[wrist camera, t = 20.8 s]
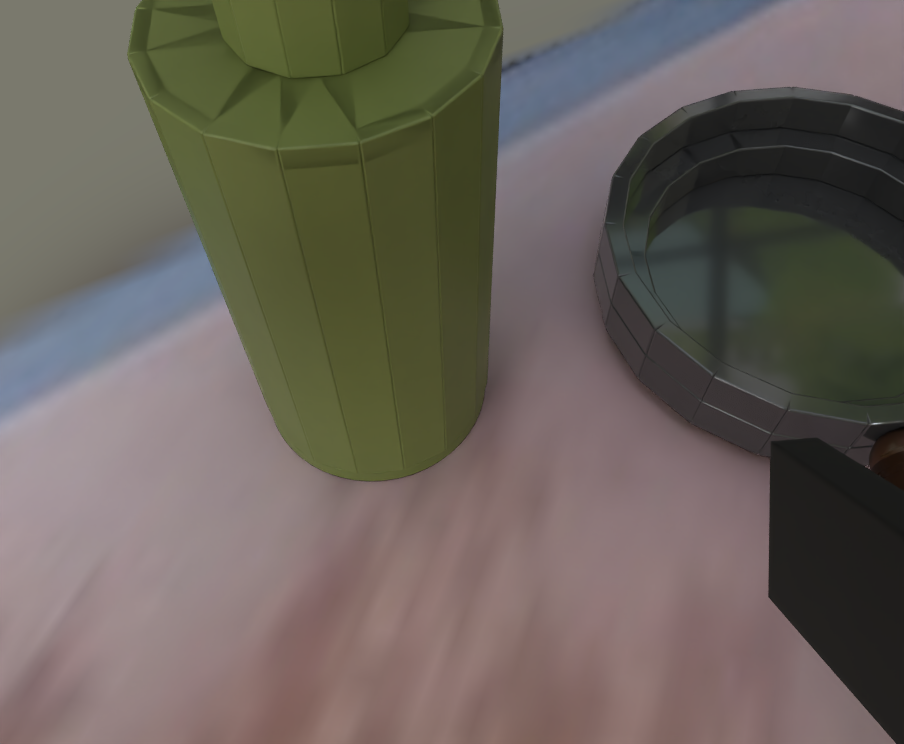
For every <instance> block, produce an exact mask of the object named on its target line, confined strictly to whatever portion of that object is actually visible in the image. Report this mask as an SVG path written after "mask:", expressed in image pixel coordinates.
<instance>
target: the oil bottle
mask: <svg viewBox="0 0 904 744" xmlns="http://www.w3.org/2000/svg"><path fill="white" fill-rule="evenodd" d="M502 46H503V25H502V19H501V15H500V10H499V5H498V0H142V1H141V2H140V3H139V5H138V6H137V7H136V10H135V13H134V19H133V25H132V30H131V35H130V41H129V47H128V53H127V55H128V60H129V62H130V65H131V67H132V70H133V72H134V75H135V77H136V80H137V82H138V85H139V87H140V90H141V92H142V95H143V97H144V100H145V102H146V105H147V107H148V110H149V112H150V115H151V117H152V120H153V122H154V125H155V127H156V130H157V132H158V134H159V137H160V140H161V142H162V144H163V147H164V150H165V152H166V154H167V157H168V160H169V162H170V165H171V167H172V170H173V172H174V175H175V177H176V180H177V182H178V185H179V187H180V190H181V192H182V194H183V197H184V200H185V202H186V204H187V207H188V209H189V212H190V214H191V217H192V219H193V222H194V224H195V227H196V229H197V232H198V234H199V237H200V239H201V242H202V244H203V247H204V249H205V252H206V254H207V257H208V259H209V262H210V264H211V267H212V269H213V272H214V274H215V277H216V279H217V282H218V284H219V287H220V289H221V292H222V294H223V297H224V299H225V302H226V304H227V307H228V309H229V312H230V314H231V317H232V319H233V322H234V324H235V327H236V329H237V332H238V334H239V336H240V339H241V341H242V344H243V346H244V349H245V351H246V354H247V356H248V359H249V361H250V364H251V366H252V369H253V371H254V374H255V376H256V379H257V381H258V384H259V386H260V389H261V391H262V394H263V396H264V399H265V401H266V403H267V406H268V408H269V410H270V412H271V414H272V416H273V418H274V421H275V423H276V426H277V428H278V430H279V432H280V433H281V435H282V437H283V439H284V440H285V441H286V442H287V444H288V445H289V446H290V447H291V449H293V450H294V451H295V452H296V453H297V454H298V455H299V456H300V457H301V458H302V459H304V460H305V461H307V462H308V463H310V464H311V465H313V466H315V467H317V468H318V469H320V470H322V471H324V472H327V473H330V474H333V475H335V476H338V477H343V478H347V479H352V480H361V481H384V480H391V479H397V478H401V477H405V476H408V475H412V474H415V473H417V472H419V471H422V470H424V469H427V468H428V467H430V466H432V465H434V464H435V463H437V462H439V461H440V460H442V459H443V458H444V457H446V456H447V455H449V454H450V453H451V452H452V451H453V450H454V449H455V448H456V447H457V446H458V445H459V444H461V442H462V441H463V440H464V439H465V437H466V436H467V435H468V434H469V432H470V431H471V429H472V427H473V426H474V424H475V422H476V420H477V418H478V415H479V413H480V410H481V407H482V403H483V399H484V391H485V387H486V384H487V372H488V350H489V329H490V307H491V285H492V264H493V242H494V220H495V198H496V177H497V155H498V133H499V111H500V90H501V68H502Z"/></svg>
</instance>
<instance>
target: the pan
mask: <svg viewBox="0 0 904 744" xmlns="http://www.w3.org/2000/svg"><path fill="white" fill-rule="evenodd" d="M593 276H594V282H595V286H596V290H597V294H598V299H599V303H600V307H601V311H602V316H603V320H604V324H605V326H606V330H607V332H608V333H609V335H610V336H611V338H612V339H613V341H614V343H615V344H616V346H617V347H618V349H619V350H620V352H621V353H622V355H623V356H624V358H625V359H626V361H627V363H628V364H629V366H630V367H631V369H632V370H633V372H634V373H635V375H636V376H637V378H639V380H640V381H641V382H642V383H643V384H645V385H646V386H647V387H648V388H649V389H650V390H652V391H653V392H654V393H655V394H656V395H658V396H659V397H660V398H661V399H662V400H663V401H665V402H666V403H667V404H668V405H669V406H671V407H672V408H673V409H674V410H675V411H676V412H678V413H679V414H680V415H681V416H682V417H684V418H685V419H686V420H687V421H688V422H690V423H691V424H693V425H695V426H697V427H699V428H701V429H703V430H706V431H708V432H710V433H712V434H714V435H716V436H718V437H720V438H722V439H725V440H727V441H729V442H731V443H733V444H735V445H737V446H739V447H742V448H744V449H746V450H748V451H750V452H752V453H754V454H759V455H761V456H767V457H770V455H771V441H781V440H792V439H804V438H815V437H818V438H819V439H821V440H822V441H824V442H826V443H827V444H829V445H830V446H832V447H834V448H835V449H837V450H838V451H840V452H842V453H843V454H845V455H847V456H848V457H850V458H851V459H853V460H855V461H856V462H858V463H859V464H861V465H863V466H866V465H869V455H870V451H871V449H872V447H873V445H874V443H875V442H876V441H877V440H878V439H879V438H880V437H881V436H883V435H884V434H886V433H888V432H890V431H893V430H897V429H904V112H903V111H900V110H897V109H894V108H891V107H888V106H885V105H882V104H879V103H876V102H873V101H870V100H867V99H864V98H861V97H858V96H854V95H851V94H844V93H836V92H829V91H821V90H813V89H806V88H798V87H792V88H791V87H782V88H768V89H755V90H741V91H734V92H733V91H731V92H728V93H724V94H721V95H718V96H715V97H712V98H709V99H706V100H703V101H700V102H697V103H693V104H690V105H687V106H684V107H682V108H681V109H678V110H677V111H675V112H674V113H673V114H671V115H670V116H668V117H667V118H665V119H664V120H663V121H661V122H660V123H658V124H657V125H655V126H654V127H652V128H651V129H650V130H648V131H647V132H645V133H644V134H642V135H641V136H640V137H639V138H638V139H637V141H636V142H635V144H634V145H633V146H632V148H631V149H630V151H629V152H628V154H627V155H626V157H625V158H624V160H623V161H622V163H621V164H620V166H619V167H618V169H617V170H616V172H615V173H614V175H613V177H612V180H611V185H610V190H609V195H608V199H607V204H606V209H605V214H604V219H603V224H602V228H601V233H600V239H599V245H598V251H597V257H596V263H595V269H594V274H593Z"/></svg>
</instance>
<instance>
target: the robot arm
mask: <svg viewBox="0 0 904 744" xmlns="http://www.w3.org/2000/svg"><path fill="white" fill-rule="evenodd" d="M768 597H769V598H770V599H771V601H772V602H773V603H774V604H775V605H776V606H777V607H778V609H779V610H780V611H781V612H782V613H783V614H784V615H785V617H786V618H787V619H788V620H789V621H790V622H791V623H792V625H793V626H794V627H795V628H796V629H797V630H798V631H799V633H800V634H801V635H802V636H803V637H804V638H805V640H806V641H807V642H808V643H809V644H810V645H811V646H812V648H813V649H814V650H815V651H816V652H817V653H818V654H819V656H820V657H821V658H822V659H823V660H824V661H825V662H826V664H827V665H828V666H829V667H830V668H831V669H832V670H833V672H834V673H835V674H836V675H837V676H838V677H839V678H840V680H841V681H842V682H843V683H844V684H845V685H846V686H847V688H848V689H849V690H850V691H851V692H852V693H853V694H854V696H855V697H856V698H857V699H858V700H859V701H860V702H861V704H862V705H863V706H864V707H865V708H866V709H867V710H868V712H869V713H870V714H871V715H872V716H873V717H874V718H875V720H876V721H877V722H878V723H879V724H880V725H881V726H882V728H883V729H884V730H885V731H886V732H887V733H888V734H889V736H890V737H891V738H892V739H893V740H894V741H895V742H896V744H904V491H903V490H901V489H900V488H898V487H897V486H895V485H893V484H892V483H890V482H888V481H887V480H885V479H884V478H882V477H880V476H879V475H877V474H876V473H874V472H872V471H871V470H869V469H868V468H866V467H864V466H863V465H861V464H859V463H858V462H856V461H855V460H853V459H851V458H850V457H848V456H847V455H845V454H843V453H842V452H840V451H838V450H837V449H835V448H834V447H832V446H830V445H829V444H827V443H826V442H824V441H822V440H821V439H819V438H818V437H815V438H804V439H792V440H781V441H771V455H770V524H769V593H768Z"/></svg>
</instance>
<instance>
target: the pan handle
mask: <svg viewBox="0 0 904 744" xmlns="http://www.w3.org/2000/svg"><path fill="white" fill-rule="evenodd" d="M869 466H870V470H871V471H872V472H874V473H876V474H877V475H879V476H880V477H882V478H884V479H885V480H887V481H888V482H890V483H892V484H893V485H895V486H897V487H898V488H900V489H901V490H903V491H904V429H897V430H893V431H890V432H888V433H886V434H884V435H883V436H881V437H880V438H879V439H878V440H877V441H876V442H875V443H874V445H873V447H872V449H871V451H870V455H869Z"/></svg>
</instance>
